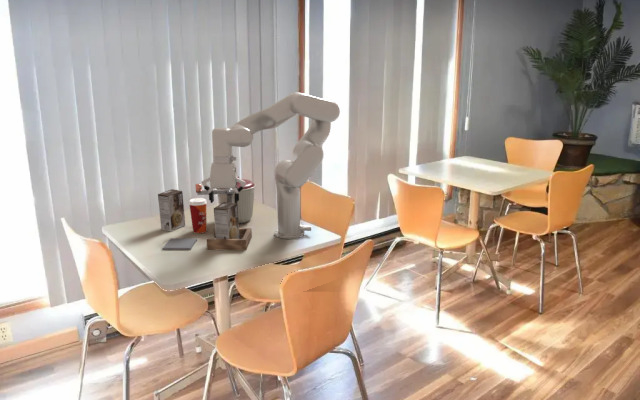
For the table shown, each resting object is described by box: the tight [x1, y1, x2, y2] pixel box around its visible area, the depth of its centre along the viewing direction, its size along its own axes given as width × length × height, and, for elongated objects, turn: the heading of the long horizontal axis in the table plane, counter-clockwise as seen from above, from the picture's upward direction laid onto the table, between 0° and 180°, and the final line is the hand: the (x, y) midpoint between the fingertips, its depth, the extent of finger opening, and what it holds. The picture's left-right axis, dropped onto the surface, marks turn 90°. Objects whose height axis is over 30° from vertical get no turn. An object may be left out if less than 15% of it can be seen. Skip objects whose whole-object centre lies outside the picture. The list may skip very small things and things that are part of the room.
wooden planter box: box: [206, 194, 253, 251], centre depth 230 cm, size 16×18×18 cm
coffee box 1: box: [157, 189, 186, 232], centre depth 248 cm, size 9×6×16 cm
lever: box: [195, 183, 233, 196], centre depth 233 cm, size 15×3×4 cm, turn 96°
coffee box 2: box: [213, 202, 241, 239], centre depth 228 cm, size 9×6×16 cm
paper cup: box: [188, 197, 208, 234], centre depth 243 cm, size 8×8×14 cm
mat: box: [162, 237, 198, 251], centre depth 229 cm, size 11×11×1 cm
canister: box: [216, 175, 257, 224], centre depth 257 cm, size 18×18×21 cm
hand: (224, 202), depth 226 cm, fingers open, 9 cm apart
